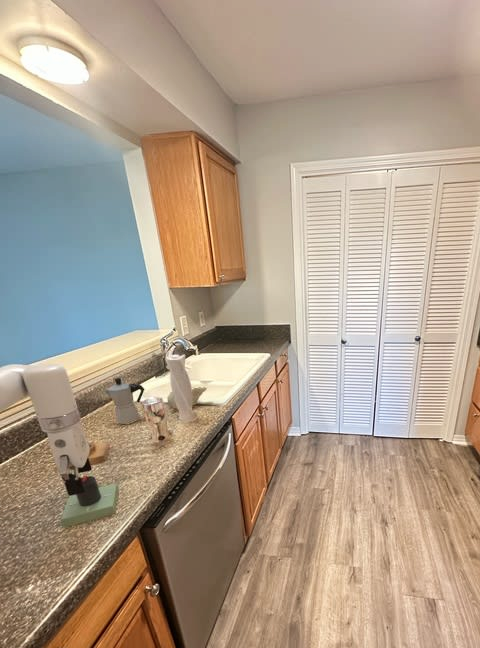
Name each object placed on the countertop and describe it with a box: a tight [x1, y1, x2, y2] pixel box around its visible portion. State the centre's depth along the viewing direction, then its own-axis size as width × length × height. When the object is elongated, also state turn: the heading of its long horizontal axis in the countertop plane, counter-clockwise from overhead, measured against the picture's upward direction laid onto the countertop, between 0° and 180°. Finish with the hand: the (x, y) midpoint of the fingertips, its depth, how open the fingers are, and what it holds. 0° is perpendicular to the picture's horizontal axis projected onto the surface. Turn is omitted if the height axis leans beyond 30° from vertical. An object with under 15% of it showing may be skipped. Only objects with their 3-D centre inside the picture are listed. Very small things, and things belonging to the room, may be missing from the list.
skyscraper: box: [165, 349, 197, 424], centre depth 124 cm, size 8×8×28 cm
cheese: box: [167, 386, 208, 410], centre depth 141 cm, size 15×7×15 cm
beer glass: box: [141, 396, 172, 444], centre depth 112 cm, size 7×7×15 cm
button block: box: [69, 441, 110, 467], centre depth 105 cm, size 12×10×4 cm
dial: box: [76, 475, 101, 506], centre depth 81 cm, size 5×5×6 cm
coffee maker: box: [102, 377, 146, 424], centre depth 128 cm, size 15×9×18 cm, turn 104°
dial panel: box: [60, 483, 120, 529], centre depth 82 cm, size 11×10×3 cm
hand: (81, 481), depth 79 cm, fingers open, 9 cm apart
